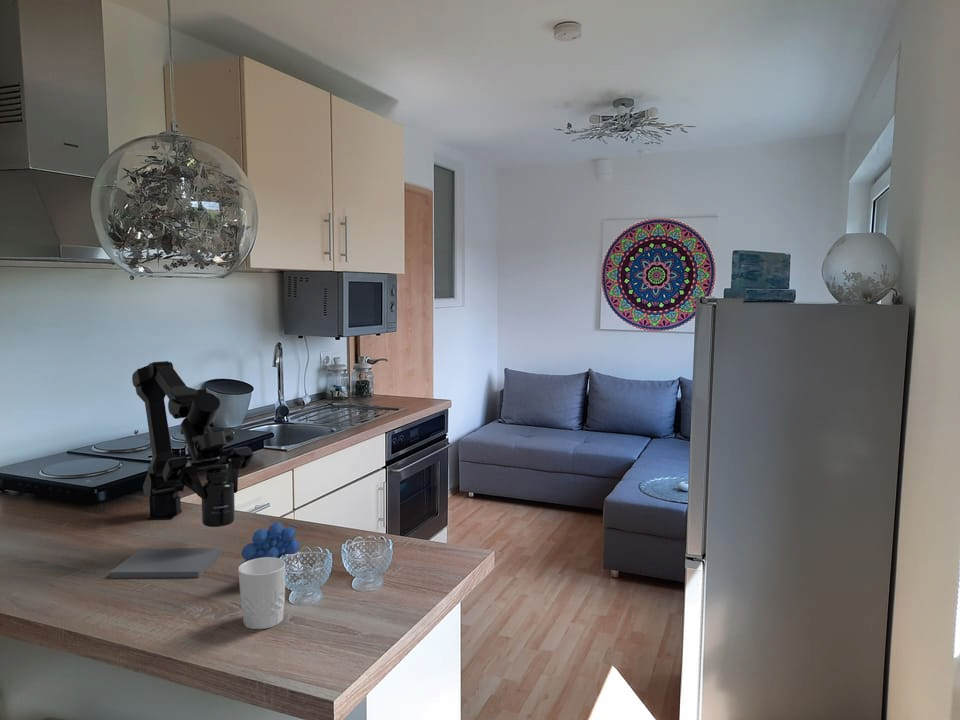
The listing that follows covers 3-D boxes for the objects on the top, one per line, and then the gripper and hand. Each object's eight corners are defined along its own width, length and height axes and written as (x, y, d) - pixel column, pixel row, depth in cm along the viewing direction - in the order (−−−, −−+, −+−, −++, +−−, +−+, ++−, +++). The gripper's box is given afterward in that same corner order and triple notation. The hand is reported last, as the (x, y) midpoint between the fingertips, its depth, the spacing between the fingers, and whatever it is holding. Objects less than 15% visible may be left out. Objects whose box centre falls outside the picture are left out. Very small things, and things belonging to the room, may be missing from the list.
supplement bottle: (219, 529, 144) (217, 475, 143) (195, 525, 146) (193, 472, 145) (241, 520, 150) (240, 468, 149) (218, 515, 153) (217, 464, 151)
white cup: (293, 610, 120) (291, 557, 120) (278, 632, 113) (276, 575, 112) (250, 609, 121) (248, 556, 120) (232, 631, 113) (230, 574, 112)
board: (109, 577, 135) (109, 572, 135) (141, 553, 148) (141, 548, 147) (198, 577, 135) (198, 571, 135) (222, 553, 148) (222, 548, 148)
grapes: (294, 568, 139) (293, 512, 138) (303, 580, 134) (302, 522, 133) (236, 580, 133) (234, 522, 132) (243, 593, 128) (241, 532, 127)
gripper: (164, 422, 142) (186, 483, 135) (248, 412, 155) (271, 467, 148) (153, 452, 149) (173, 511, 142) (234, 440, 162) (256, 494, 155)
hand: (220, 495), depth 147 cm, fingers closed on supplement bottle, 7 cm apart
